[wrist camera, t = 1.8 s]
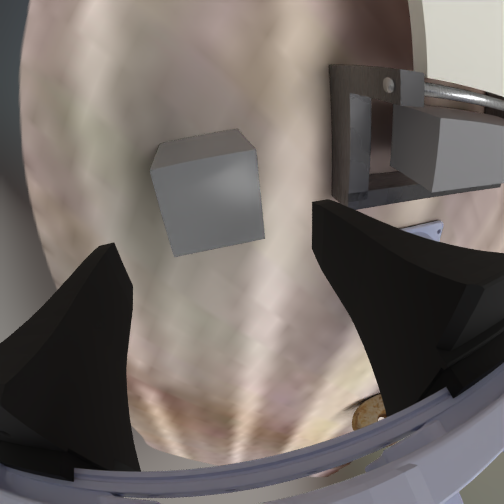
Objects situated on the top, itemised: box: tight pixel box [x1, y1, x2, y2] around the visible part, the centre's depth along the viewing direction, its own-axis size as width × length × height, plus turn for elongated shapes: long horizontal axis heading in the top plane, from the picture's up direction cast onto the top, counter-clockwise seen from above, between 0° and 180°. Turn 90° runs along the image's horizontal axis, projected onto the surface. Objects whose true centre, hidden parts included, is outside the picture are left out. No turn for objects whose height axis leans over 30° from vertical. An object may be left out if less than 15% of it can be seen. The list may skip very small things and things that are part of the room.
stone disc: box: [352, 394, 396, 447], centre depth 40 cm, size 10×4×10 cm, turn 91°
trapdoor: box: [390, 0, 504, 192], centre depth 11 cm, size 15×14×4 cm
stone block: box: [150, 129, 265, 257], centre depth 15 cm, size 4×4×5 cm
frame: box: [329, 65, 504, 210], centre depth 15 cm, size 9×18×7 cm, turn 96°
